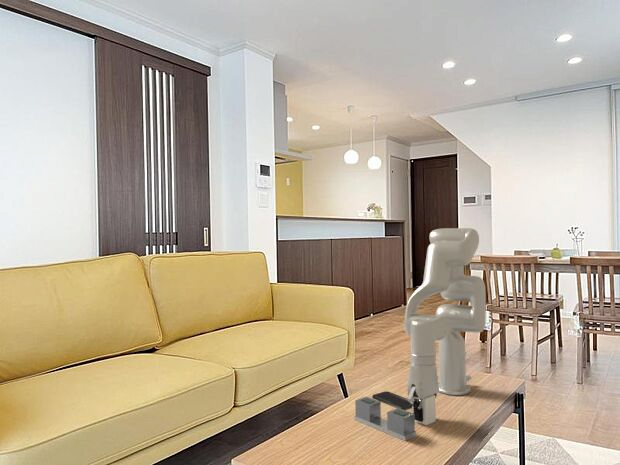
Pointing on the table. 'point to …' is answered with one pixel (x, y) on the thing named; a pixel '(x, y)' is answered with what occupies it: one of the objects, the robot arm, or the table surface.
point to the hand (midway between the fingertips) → (423, 417)
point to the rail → (395, 425)
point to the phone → (392, 400)
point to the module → (428, 410)
